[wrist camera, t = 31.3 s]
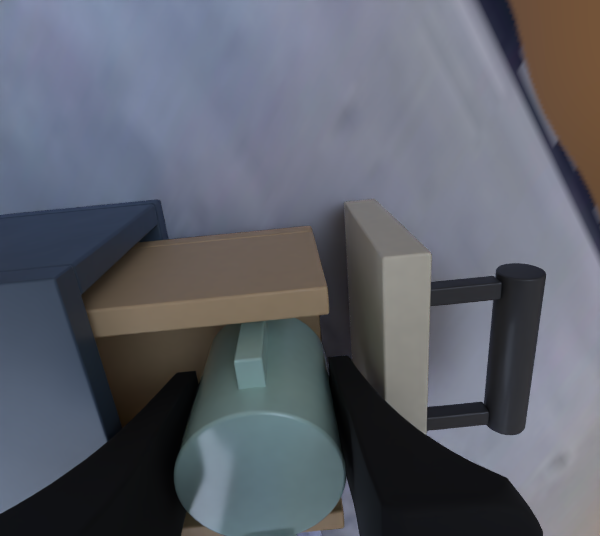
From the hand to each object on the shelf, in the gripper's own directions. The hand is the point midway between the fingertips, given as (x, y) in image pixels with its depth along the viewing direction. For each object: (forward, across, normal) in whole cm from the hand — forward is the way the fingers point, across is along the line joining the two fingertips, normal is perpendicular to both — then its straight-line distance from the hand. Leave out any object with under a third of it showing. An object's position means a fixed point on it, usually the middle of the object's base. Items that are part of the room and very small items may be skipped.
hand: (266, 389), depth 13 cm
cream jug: (+1, 0, 0) cm, 1 cm away
